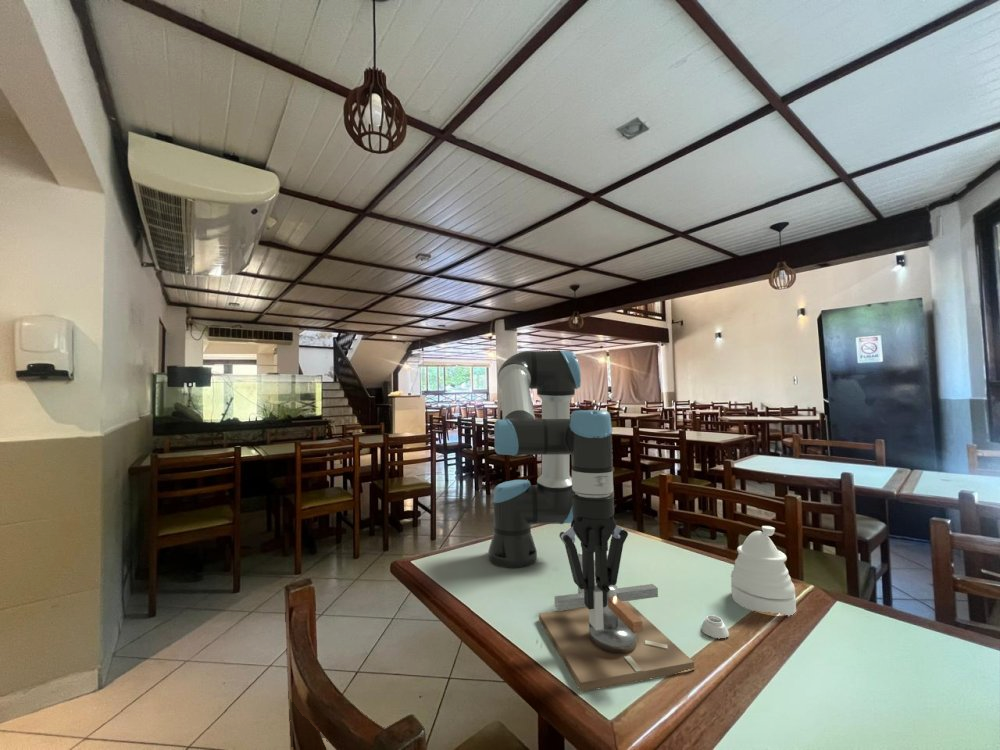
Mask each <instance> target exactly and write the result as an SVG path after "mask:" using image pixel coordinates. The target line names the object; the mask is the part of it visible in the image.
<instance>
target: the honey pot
mask: <svg viewBox="0 0 1000 750" xmlns="http://www.w3.org/2000/svg"><path fill="white" fill-rule="evenodd" d="M761 529H762V531H761V530H754V531H752V532H750V534H749V535H748V536H747V537H745V538H746V539H745V540H744V542H743V544H741V545H739V546H737V549H736V551H737V552H738V555H737V558H735V559H734V561H735V562H734V564H733V568H732V569H733V570H731V574H730V581H731V582H730V587H731V598H732V600H733V601H734V602H735V603H736V604H737V603H738V605H739V606H740V605H741V606H740V607H742V608H744V607H745V608H744V609H746V608H748V609H750V610H756V611H762V612H771V613H780V614H785V615H788V617H791V616H790V615H792V616H794V615H795V614H796V613H797V601H796V587H795V584H794V583H793V582H792V578H791V576H790V574H789V570H788V568H787V567H786V565H785V562H786V561H788V560H787V559H788V557H787V555H786V554H785V553H784V552H782V551H781V550H779V549H777V547H776V545H775V544H774V542H773V541H772V539H771V538H770V537H771V536H773V535H774V534H775V531H776V528H775V527H773V526H771V525H762V526H761ZM748 609H747V610H748ZM750 610H749V611H750ZM795 612H796V613H795ZM794 613H795V614H794ZM793 614H794V615H793Z"/></svg>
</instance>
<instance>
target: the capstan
mask: <svg viewBox="0 0 1000 750" xmlns="http://www.w3.org/2000/svg"><path fill="white" fill-rule="evenodd" d="M582 573H583V571H582ZM594 581H595V585H596V586H597V583H596V577H595V576H594ZM609 588H610V590H609V591H608V592H607V606H606V607H603V625H604V629H602V630H595V629H594V627H593V626H592V625H591V624H590V623H589V637H590V640H591V641H592V643H593V644H594V645H596V646H597V647H599V648H600V649H602V650H605V651H608V652H612V653H626V652H629V651H632V650H633V649H634V648H635V647H636V645H637V633H638V632H643V626H642V620H641V619H640V618H639V617H637V616H636V615H635V614H634V613H633V612H632V611H631V610H630V609H629V608H628V607H627V606H626V605H625V604H624V603H623V602H627V601H628V602H630V601H637V600H645V599H646V600H647V599H651V598H652V599H653V598H658V597H659V588H658V587H657V586H656V585H655V584H653V583H649V584H642V585H634V586H627V587H625V586H624V587H619V588H618V586H617V584H616V585H610V586H609ZM553 598H554V607H555V608H556V609H557V610H556V611H561V610H568V609H575V608H583V607H586V605H585V603H584V593H578V592H577V593H569V594H563V595H555V596H553Z"/></svg>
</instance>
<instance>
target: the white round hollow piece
mask: <svg viewBox="0 0 1000 750" xmlns="http://www.w3.org/2000/svg"><path fill="white" fill-rule="evenodd" d="M700 627H701V631H702V632H703V633H704V634H705V635H706V636H708V637H710V636H711V638H714V639H717V638H718V639H719V640H721V639H720V638H725V639H727V638H726V637H728V638H729V636H730V632H729V630H728V628H727V626H726V624H725V623H724V621H723V619H722V618H721V617H720V616H717V615H714V614H709V615H707V616H705V618H704V620H703V622H702V623H701V625H700ZM718 639H717V640H718Z"/></svg>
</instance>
